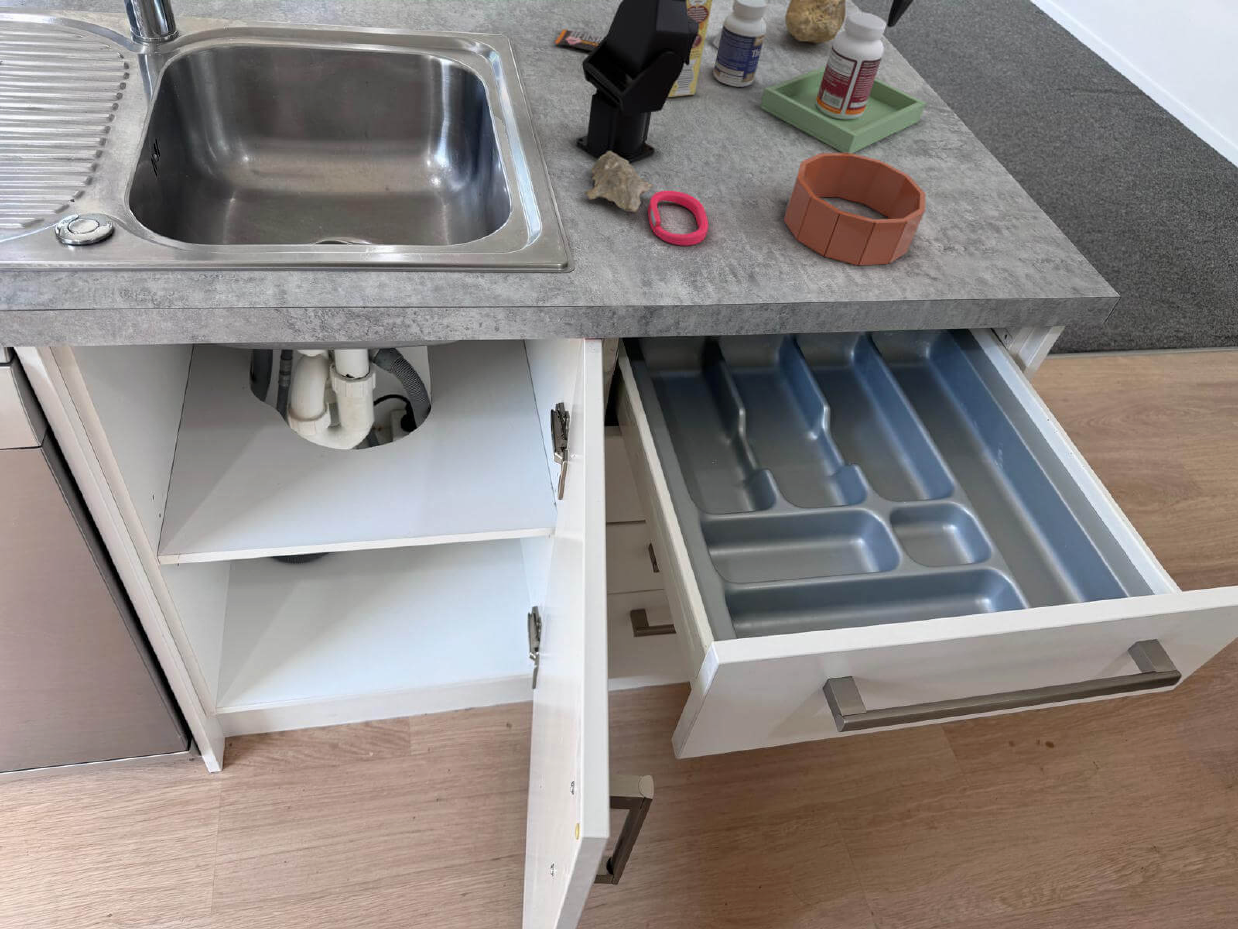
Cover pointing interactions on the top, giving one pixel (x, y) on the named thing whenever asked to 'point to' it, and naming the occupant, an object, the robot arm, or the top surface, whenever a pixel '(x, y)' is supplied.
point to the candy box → (693, 49)
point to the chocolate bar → (578, 40)
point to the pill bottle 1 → (741, 43)
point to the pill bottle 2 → (852, 67)
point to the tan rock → (815, 19)
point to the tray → (878, 120)
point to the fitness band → (688, 203)
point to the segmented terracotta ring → (851, 232)
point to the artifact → (617, 182)
